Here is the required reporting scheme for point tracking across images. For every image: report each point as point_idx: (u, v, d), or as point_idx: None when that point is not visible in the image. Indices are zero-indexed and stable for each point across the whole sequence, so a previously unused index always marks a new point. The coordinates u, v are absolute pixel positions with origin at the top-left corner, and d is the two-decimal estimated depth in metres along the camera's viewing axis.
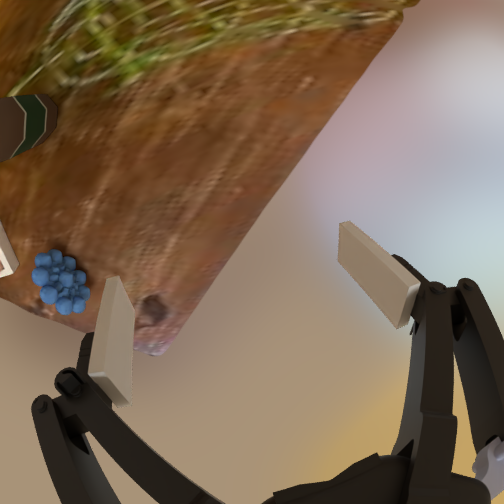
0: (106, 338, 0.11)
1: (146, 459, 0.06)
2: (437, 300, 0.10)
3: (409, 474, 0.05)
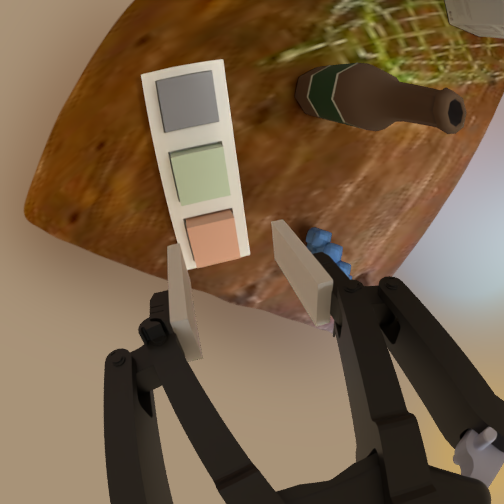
0: (183, 292, 0.13)
1: (207, 420, 0.08)
2: (354, 299, 0.11)
3: (384, 482, 0.05)
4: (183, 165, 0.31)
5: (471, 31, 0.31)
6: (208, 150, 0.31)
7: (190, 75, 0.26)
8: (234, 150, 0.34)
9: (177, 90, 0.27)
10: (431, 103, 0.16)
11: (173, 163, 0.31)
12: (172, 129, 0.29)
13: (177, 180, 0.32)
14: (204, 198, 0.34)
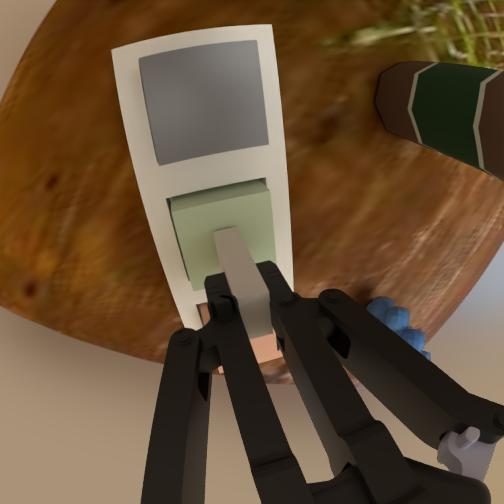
0: (241, 272, 0.14)
1: (259, 402, 0.08)
2: (292, 311, 0.11)
3: (369, 493, 0.05)
4: (195, 226, 0.17)
5: None
6: (242, 197, 0.17)
7: (211, 46, 0.12)
8: (286, 194, 0.20)
9: (184, 76, 0.12)
10: None
11: (176, 222, 0.17)
12: (172, 159, 0.14)
13: (185, 251, 0.18)
14: None
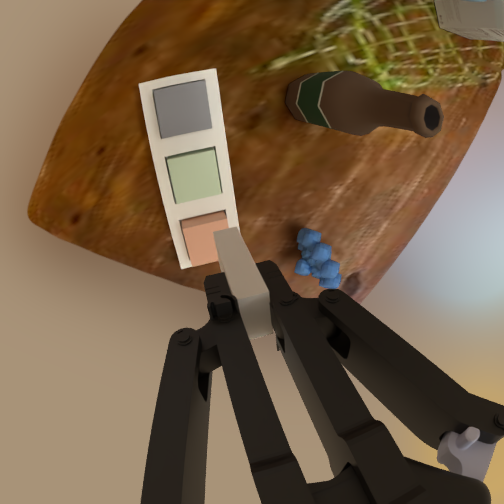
0: (241, 272, 0.14)
1: (259, 402, 0.08)
2: (292, 312, 0.11)
3: (369, 493, 0.05)
4: (178, 167, 0.34)
5: (461, 34, 0.33)
6: (201, 153, 0.34)
7: (185, 84, 0.28)
8: (227, 155, 0.36)
9: (173, 99, 0.29)
10: (408, 109, 0.19)
11: (169, 165, 0.34)
12: (168, 136, 0.31)
13: (173, 180, 0.35)
14: (197, 197, 0.37)
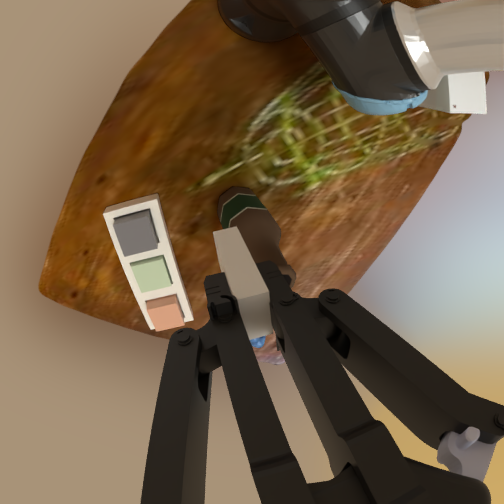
0: (241, 272, 0.14)
1: (259, 402, 0.08)
2: (292, 312, 0.11)
3: (369, 493, 0.05)
4: (139, 271, 0.49)
5: None
6: (153, 261, 0.49)
7: (133, 220, 0.43)
8: (173, 259, 0.51)
9: (127, 230, 0.43)
10: None
11: (133, 270, 0.48)
12: (128, 255, 0.45)
13: (136, 279, 0.50)
14: (155, 288, 0.52)
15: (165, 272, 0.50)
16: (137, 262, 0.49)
